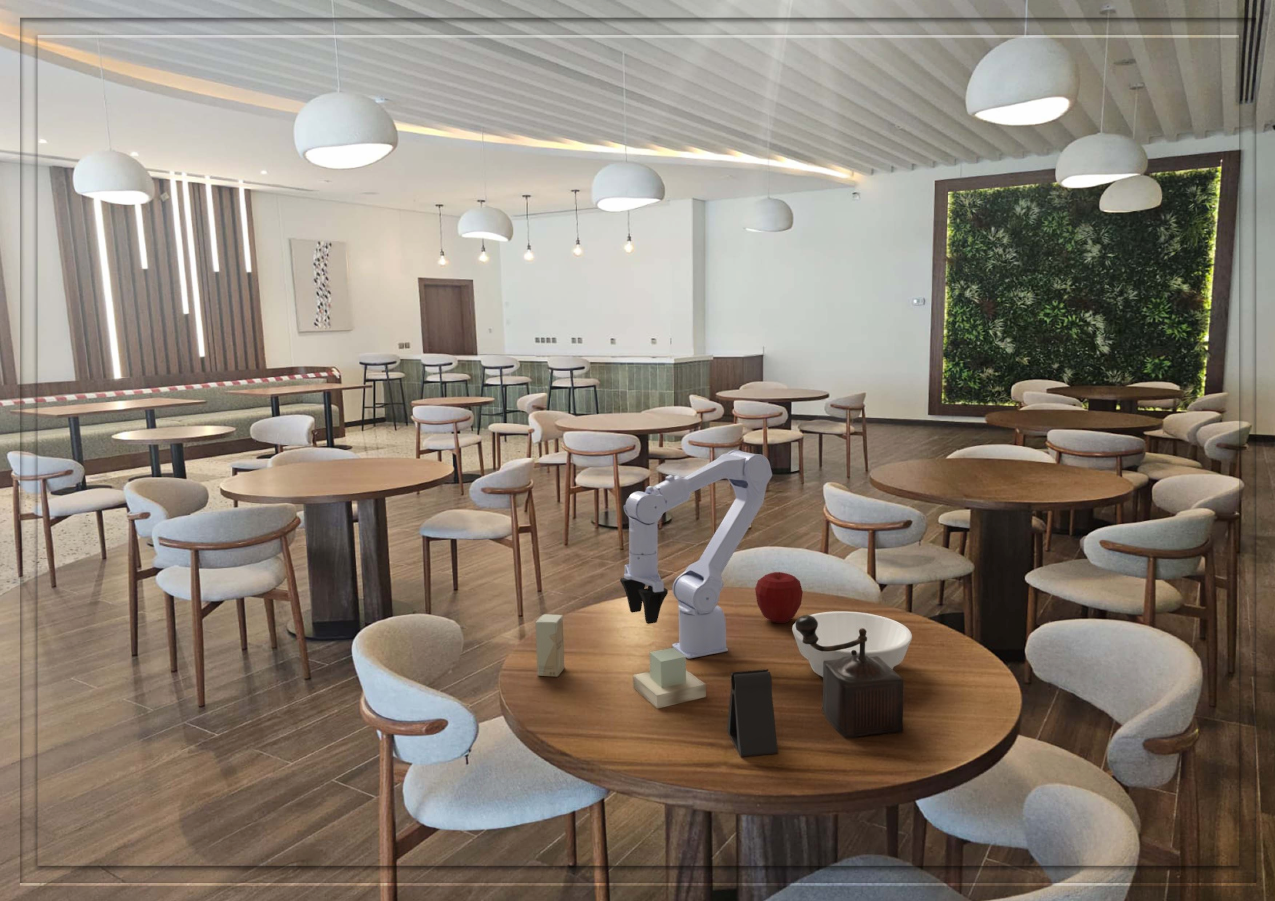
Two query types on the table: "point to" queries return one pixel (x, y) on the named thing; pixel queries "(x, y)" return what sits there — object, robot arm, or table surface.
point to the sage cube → (667, 667)
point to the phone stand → (752, 713)
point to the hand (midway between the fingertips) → (643, 617)
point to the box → (550, 645)
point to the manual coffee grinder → (857, 688)
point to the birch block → (669, 690)
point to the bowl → (844, 627)
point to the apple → (779, 596)
